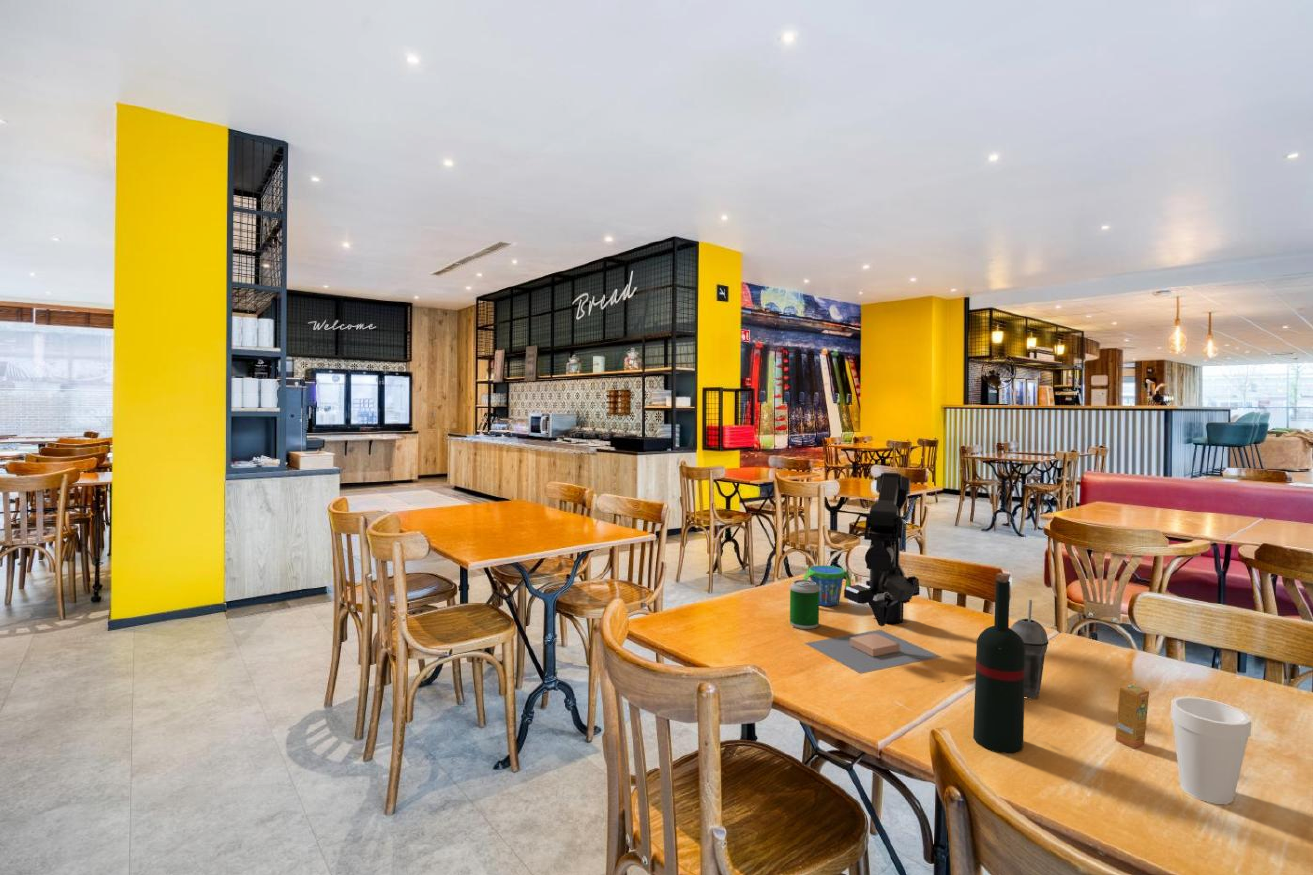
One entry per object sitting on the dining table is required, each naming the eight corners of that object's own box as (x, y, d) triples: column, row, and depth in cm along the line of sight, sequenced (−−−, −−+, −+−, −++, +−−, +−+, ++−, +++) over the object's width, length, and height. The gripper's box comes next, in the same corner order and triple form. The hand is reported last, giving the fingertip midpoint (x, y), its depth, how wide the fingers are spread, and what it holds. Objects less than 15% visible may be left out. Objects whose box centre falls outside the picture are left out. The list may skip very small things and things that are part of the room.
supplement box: (1135, 749, 116) (1137, 693, 115) (1114, 740, 119) (1117, 685, 118) (1147, 745, 117) (1149, 689, 117) (1126, 736, 120) (1129, 682, 120)
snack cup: (841, 596, 206) (842, 563, 206) (859, 606, 196) (859, 572, 196) (794, 599, 203) (794, 566, 203) (809, 610, 193) (809, 575, 192)
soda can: (821, 632, 174) (822, 586, 174) (792, 632, 175) (793, 586, 174) (815, 622, 182) (815, 579, 181) (787, 622, 182) (787, 578, 181)
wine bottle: (1037, 740, 119) (1043, 573, 117) (1009, 758, 113) (1015, 583, 111) (993, 723, 125) (997, 564, 124) (964, 739, 119) (969, 573, 118)
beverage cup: (1042, 689, 140) (1045, 595, 139) (1050, 704, 133) (1053, 605, 132) (1003, 684, 142) (1006, 591, 141) (1009, 699, 135) (1012, 601, 134)
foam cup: (1179, 802, 101) (1183, 718, 100) (1158, 770, 109) (1162, 692, 109) (1259, 816, 97) (1263, 729, 97) (1231, 782, 106) (1234, 702, 105)
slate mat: (880, 631, 175) (880, 629, 175) (941, 659, 156) (941, 656, 156) (804, 645, 165) (804, 643, 165) (860, 676, 147) (860, 673, 147)
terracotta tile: (875, 633, 166) (850, 637, 163) (899, 643, 159) (873, 649, 156) (875, 641, 166) (849, 645, 163) (899, 652, 159) (872, 657, 156)
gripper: (875, 573, 150) (874, 642, 150) (938, 565, 157) (936, 630, 158) (843, 562, 160) (841, 627, 161) (902, 555, 167) (901, 616, 168)
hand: (881, 625), depth 162 cm, fingers closed
